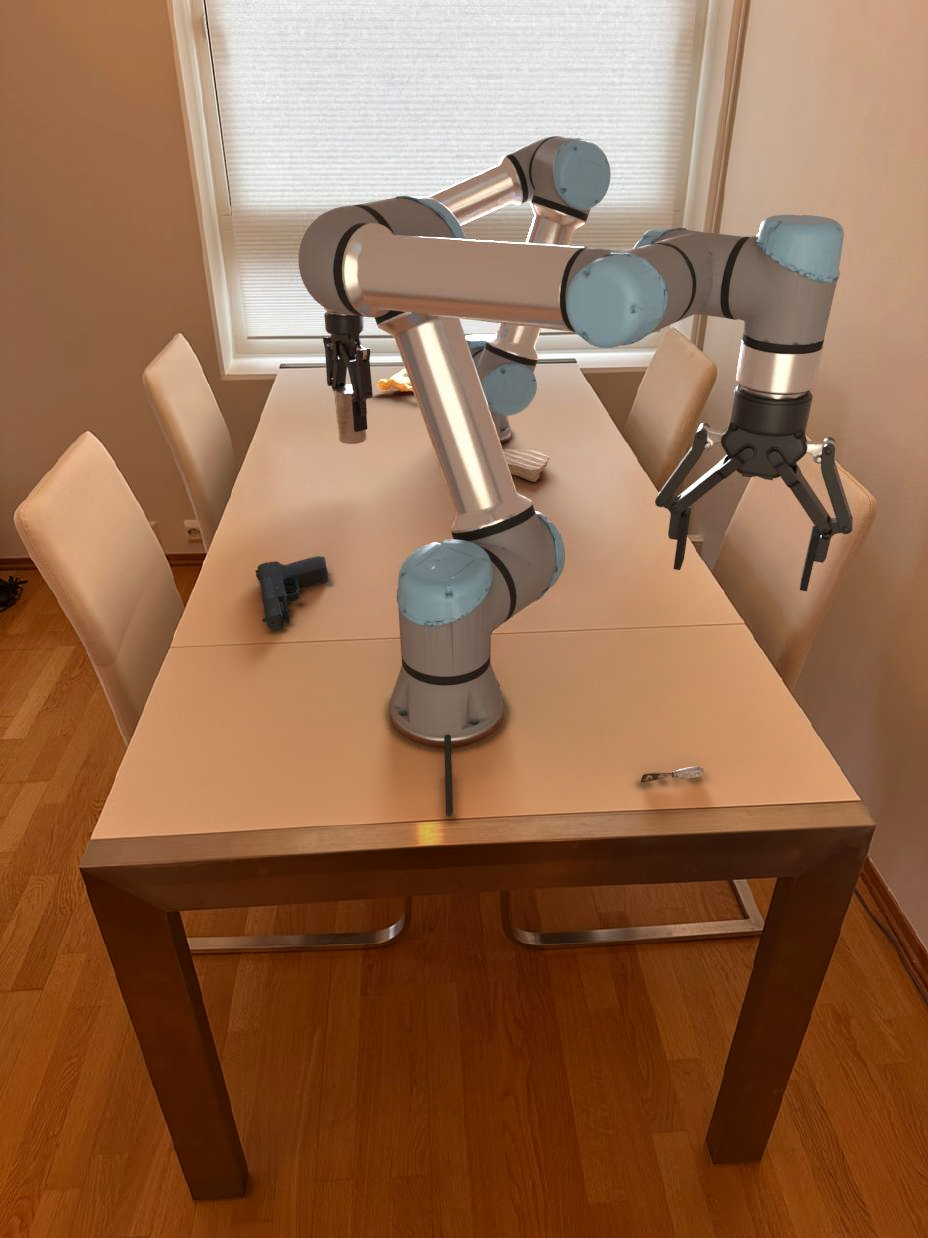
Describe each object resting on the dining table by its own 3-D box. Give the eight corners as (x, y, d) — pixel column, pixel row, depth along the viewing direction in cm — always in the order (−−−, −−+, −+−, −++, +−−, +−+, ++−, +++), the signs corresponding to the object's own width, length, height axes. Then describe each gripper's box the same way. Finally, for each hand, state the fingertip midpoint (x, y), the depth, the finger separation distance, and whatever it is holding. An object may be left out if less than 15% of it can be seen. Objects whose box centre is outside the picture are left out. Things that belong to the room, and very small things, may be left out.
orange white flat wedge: (371, 392, 238) (370, 377, 236) (413, 371, 252) (412, 357, 250) (432, 405, 230) (432, 390, 227) (472, 383, 244) (472, 369, 241)
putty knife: (703, 777, 109) (705, 767, 109) (642, 788, 108) (644, 777, 107) (700, 772, 110) (702, 762, 109) (639, 782, 109) (640, 771, 108)
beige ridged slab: (554, 462, 195) (554, 451, 194) (536, 482, 186) (537, 471, 185) (499, 454, 200) (499, 444, 198) (479, 474, 190) (479, 463, 189)
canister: (369, 434, 188) (366, 384, 183) (363, 444, 184) (359, 393, 178) (342, 433, 189) (338, 383, 183) (336, 443, 184) (331, 392, 179)
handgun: (340, 621, 141) (263, 633, 138) (325, 568, 155) (255, 578, 152) (339, 604, 139) (261, 615, 136) (323, 552, 153) (252, 561, 151)
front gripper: (909, 389, 88) (859, 578, 99) (655, 364, 95) (636, 542, 106) (912, 413, 82) (859, 611, 93) (641, 384, 89) (622, 570, 100)
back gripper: (301, 305, 177) (312, 418, 189) (354, 323, 164) (362, 442, 177) (333, 299, 181) (342, 410, 193) (387, 316, 168) (393, 434, 181)
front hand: (739, 574), depth 100 cm, fingers open, 13 cm apart
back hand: (352, 425), depth 185 cm, fingers closed on canister, 6 cm apart
